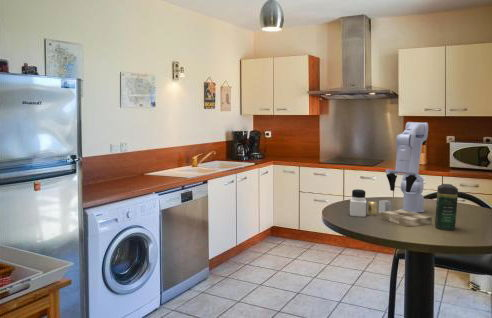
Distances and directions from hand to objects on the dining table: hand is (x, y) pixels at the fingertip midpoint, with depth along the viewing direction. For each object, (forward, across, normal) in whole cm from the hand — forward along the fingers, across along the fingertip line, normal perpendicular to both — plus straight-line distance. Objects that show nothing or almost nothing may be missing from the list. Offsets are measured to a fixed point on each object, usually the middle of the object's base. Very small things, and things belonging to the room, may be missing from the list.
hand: (400, 191), depth 196 cm
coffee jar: (+14, +16, -11) cm, 24 cm away
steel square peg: (+11, +3, +17) cm, 21 cm away
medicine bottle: (+13, -12, +15) cm, 23 cm away
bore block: (+13, +5, +1) cm, 14 cm away
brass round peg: (+12, -4, +15) cm, 20 cm away
